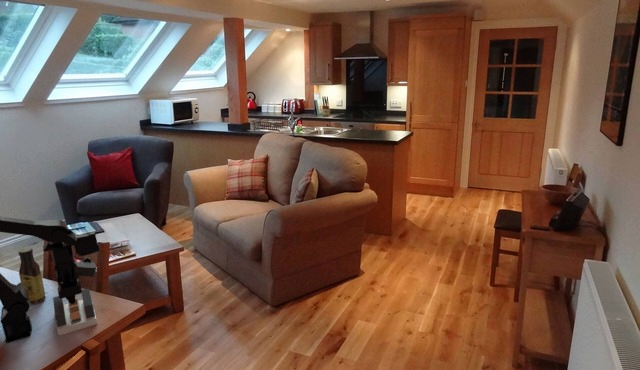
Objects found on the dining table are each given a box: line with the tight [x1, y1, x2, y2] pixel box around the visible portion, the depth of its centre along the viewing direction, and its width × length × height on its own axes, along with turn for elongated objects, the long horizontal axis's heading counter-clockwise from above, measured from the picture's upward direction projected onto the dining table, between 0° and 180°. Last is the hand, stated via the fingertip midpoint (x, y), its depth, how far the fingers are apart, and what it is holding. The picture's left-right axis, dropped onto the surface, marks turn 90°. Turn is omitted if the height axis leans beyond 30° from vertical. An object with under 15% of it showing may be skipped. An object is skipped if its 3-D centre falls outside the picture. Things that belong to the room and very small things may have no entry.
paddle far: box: [67, 297, 79, 307], centre depth 150 cm, size 3×1×2 cm, turn 122°
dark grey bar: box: [52, 295, 66, 328], centre depth 144 cm, size 2×12×4 cm, turn 32°
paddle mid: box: [69, 305, 79, 313], centre depth 146 cm, size 3×1×2 cm, turn 122°
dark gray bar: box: [81, 287, 96, 319], centre depth 148 cm, size 2×12×4 cm, turn 32°
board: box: [56, 299, 98, 336], centre depth 147 cm, size 15×11×2 cm
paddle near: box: [70, 311, 81, 320], centre depth 143 cm, size 3×1×2 cm, turn 122°
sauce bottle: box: [18, 246, 46, 305], centre depth 155 cm, size 7×6×20 cm
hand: (73, 303), depth 145 cm, fingers closed
